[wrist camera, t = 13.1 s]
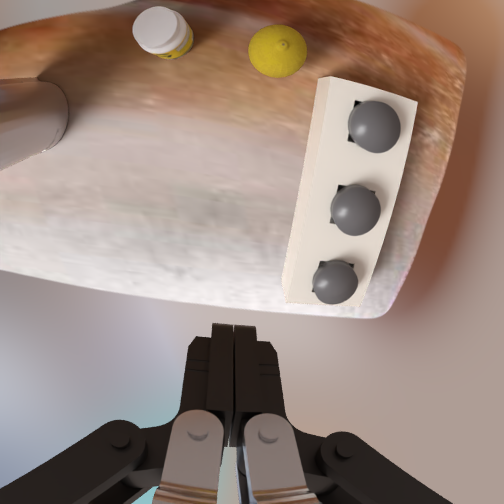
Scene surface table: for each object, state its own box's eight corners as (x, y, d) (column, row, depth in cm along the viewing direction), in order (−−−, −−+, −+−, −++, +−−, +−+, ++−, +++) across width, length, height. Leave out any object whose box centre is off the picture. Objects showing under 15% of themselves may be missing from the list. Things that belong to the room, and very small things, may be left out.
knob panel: (349, 285, 43) (360, 306, 39) (281, 280, 42) (285, 302, 38) (396, 99, 31) (417, 102, 27) (318, 78, 30) (330, 76, 26)
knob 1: (338, 280, 41) (350, 305, 36) (302, 277, 41) (310, 303, 36) (349, 246, 39) (363, 268, 34) (310, 242, 38) (320, 264, 33)
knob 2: (373, 148, 33) (394, 158, 28) (332, 139, 32) (348, 147, 27) (381, 105, 30) (404, 109, 25) (339, 94, 30) (357, 95, 25)
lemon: (306, 69, 30) (325, 63, 22) (259, 86, 30) (265, 83, 23) (286, 27, 27) (300, 8, 20) (238, 43, 28) (239, 28, 21)
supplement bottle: (144, 50, 27) (117, 39, 20) (166, 16, 26) (145, -5, 18) (180, 66, 29) (163, 58, 21) (203, 31, 27) (192, 13, 20)
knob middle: (356, 218, 37) (373, 238, 32) (317, 213, 36) (329, 233, 32) (366, 178, 34) (386, 193, 30) (326, 171, 34) (340, 184, 29)
